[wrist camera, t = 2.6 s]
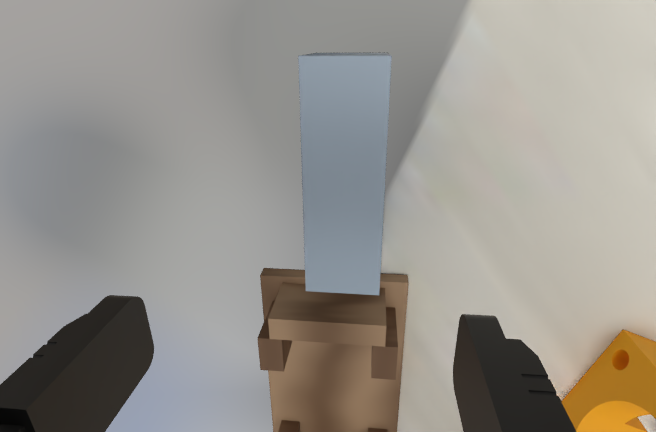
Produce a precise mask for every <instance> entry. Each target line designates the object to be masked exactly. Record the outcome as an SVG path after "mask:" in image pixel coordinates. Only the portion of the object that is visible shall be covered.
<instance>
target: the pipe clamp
mask: <svg viewBox="0 0 656 432" xmlns="http://www.w3.org/2000/svg"><path fill="white" fill-rule="evenodd" d="M562 404H563V406H564V408H565V410H566V412H567V414H568V416H569V418H570V420H571V422H572V424H573V426H574V428H575V430H576V431H577V432H647V431H646V429H645V428H644V426H643V425H642V423H641V422H640V421H639V419H638V418H637V417H638V416H642V415H648V414H651V415H652V416H653V417H654V418H655V419H656V342H655V341H652V340H650V339H647V338H644V337H642V336H639V335H637V334H634V333H631V332H629V331H626V330H624V329H623V330H622V331H621V332H620V334H619V335H618V336H617V337H616V338H615V339H614V341H613V342H612V343H611V344H610V345H609V346H608V348H607V349H606V350H605V351H604V352H603V354H602V355H601V356H600V357H599V358H598V359H597V361H596V362H595V363H594V364H593V365H592V366H591V368H590V369H589V370H588V371H587V372H586V373H585V375H584V376H583V377H582V378H581V379H580V381H579V382H578V383H577V384H576V385H575V386H574V388H573V389H572V390H571V391H570V392H569V393H568V395H567V396H566V397H565V398H564V399H563V400H562Z"/></svg>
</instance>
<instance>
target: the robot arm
mask: <svg viewBox="0 0 656 432" xmlns="http://www.w3.org/2000/svg"><path fill="white" fill-rule="evenodd" d="M153 353H154V344H153V340H152V335H151V331H150V327H149V322H148V318H147V313H146V309H145V305H144V302H143V300H142V299H141V298H140V297H133V296H114V295H110V296H107V297H105V298H104V299H103V300H102V301H101V302H100V303H99V304H98V305H97V306H95V307H94V308H93V309H92V310H91V311H90V312H89V313H88V314H85V315H83V316H81V317H80V318H78V319H76V320H74V321H73V322H71V323H69V324H67V325H66V326H64V327H63V328H62V329H61V330H60V331H58V332H57V333H56V334H55V335H54V336H53V337H52V338H51V339H50V340H49V341H48V343H47V345H43V346H42V347H41V348H40V349H39V350H38V351H37V352H36V353H34V356H33V358H29V359H28V360H27V361H26V362H25V363H24V364H22V365H21V366H20V367H19V368H18V369H17V370H16V371H15V372H14V373H13V374H12V375H10V376H9V377H8V378H7V379H6V380H5V381H4V382H3V383H2V384H1V385H0V432H105V431H106V429H107V428H108V427H109V425H110V424H111V422H112V421H113V419H114V418H115V416H116V415H117V414H118V412H119V411H120V409H121V408H122V406H123V405H124V404H125V402H126V400H127V399H128V398H129V396H130V395H131V393H132V392H133V391H134V389H135V388H136V386H137V385H138V383H139V382H140V380H141V379H142V378H143V376H144V375H145V373H146V372H147V370H148V369H149V367H150V364H151V362H152V359H153ZM453 382H454V390H455V395H456V400H457V404H458V409H459V413H460V418H461V422H462V427H463V431H464V432H577V431H576V430H575V428H574V426H573V424H572V422H571V420H570V418H569V416H568V414H567V412H566V410H565V408H564V406H563V404H562V402H561V400H560V398H559V396H557V395H556V391H555V389H554V387H553V385H552V383H551V381H550V379H548V375H547V373H546V371H545V369H544V367H543V365H542V363H541V361H540V359H539V357H538V356H537V355H536V354H535V353H534V352H533V351H532V350H531V349H530V348H529V347H527V346H526V345H525V344H524V343H523V342H522V341H521V340H518V339H506V338H505V336H504V334H503V331H502V329H501V327H500V324H499V322H498V320H497V318H496V317H495V316H486V315H466V314H462V315H461V317H460V320H459V327H458V335H457V342H456V350H455V357H454V365H453Z"/></svg>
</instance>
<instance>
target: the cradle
mask: <svg viewBox="0 0 656 432" xmlns="http://www.w3.org/2000/svg"><path fill="white" fill-rule="evenodd" d="M260 277H261V289H262V301H263V313H264V324H263V326H262V329H261V331H260V334H259V336H258V347H259V358H260V368H261V370H268V372H269V384H270V396H271V408H272V420H273V432H397V422H398V410H399V397H400V384H401V371H402V359H403V346H404V333H405V321H406V308H407V295H408V276H407V275H396V274H380V292H379V295H364V294H346V293H329V292H311V291H306V284H305V270H294V269H293V270H292V269H273V268H264V269H263V271H262V273H261V275H260Z"/></svg>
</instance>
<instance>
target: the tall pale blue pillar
mask: <svg viewBox="0 0 656 432" xmlns="http://www.w3.org/2000/svg"><path fill="white" fill-rule="evenodd" d="M391 59H392V56H391V55H390V54H389V53H313V54H307V55H301V56H299V87H300V120H301V154H302V185H303V186H302V187H303V219H304V250H305V251H304V252H305V284H306V291H311V292H329V293H346V294H364V295H379V292H380V272H381V253H382V233H383V214H384V194H385V175H386V155H387V136H388V116H389V96H390V77H391Z"/></svg>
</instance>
